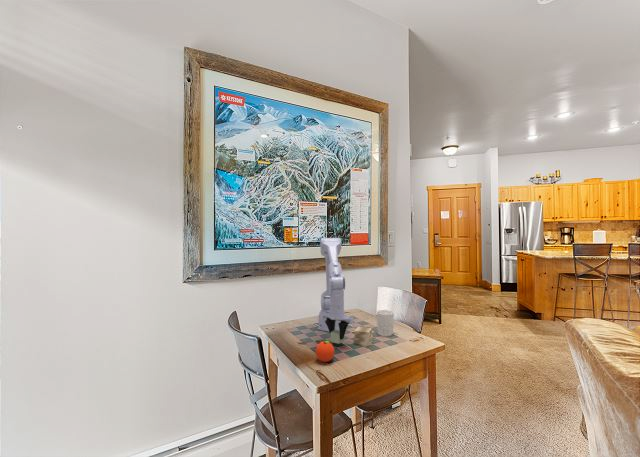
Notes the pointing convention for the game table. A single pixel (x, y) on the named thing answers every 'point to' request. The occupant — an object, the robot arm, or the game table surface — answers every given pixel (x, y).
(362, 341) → the slab lower
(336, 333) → the cube
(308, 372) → the game table surface
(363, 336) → the slab upper
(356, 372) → the game table surface
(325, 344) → the clementine
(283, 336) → the game table surface
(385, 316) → the white cup
